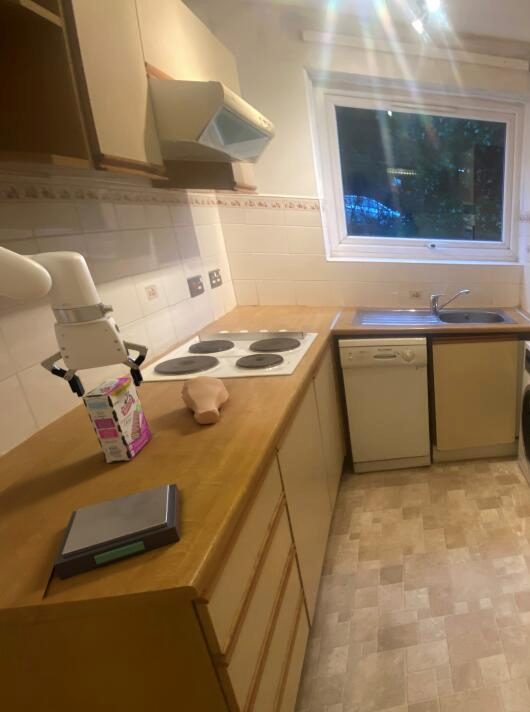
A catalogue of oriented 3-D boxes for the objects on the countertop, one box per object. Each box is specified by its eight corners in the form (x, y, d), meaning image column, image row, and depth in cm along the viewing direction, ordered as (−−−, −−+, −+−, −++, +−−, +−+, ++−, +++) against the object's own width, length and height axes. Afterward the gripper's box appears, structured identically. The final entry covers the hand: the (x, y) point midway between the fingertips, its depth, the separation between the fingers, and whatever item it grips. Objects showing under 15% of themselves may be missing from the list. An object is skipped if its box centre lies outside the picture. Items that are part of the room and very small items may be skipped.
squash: (226, 395, 131) (225, 368, 128) (234, 429, 118) (234, 399, 114) (181, 398, 125) (179, 370, 121) (185, 434, 111) (182, 403, 108)
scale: (60, 582, 67) (52, 567, 65) (78, 525, 78) (72, 511, 77) (179, 542, 74) (174, 528, 73) (180, 495, 86) (176, 483, 85)
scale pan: (63, 558, 67) (61, 554, 67) (79, 512, 77) (77, 508, 77) (167, 525, 74) (166, 521, 74) (169, 487, 84) (168, 484, 83)
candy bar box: (133, 460, 98) (108, 394, 91) (106, 464, 96) (79, 397, 90) (154, 437, 108) (132, 375, 101) (130, 440, 106) (106, 378, 100)
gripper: (135, 305, 97) (160, 376, 104) (26, 316, 88) (61, 393, 95) (132, 312, 91) (158, 386, 98) (15, 324, 82) (53, 405, 89)
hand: (110, 389), depth 96 cm, fingers open, 9 cm apart
